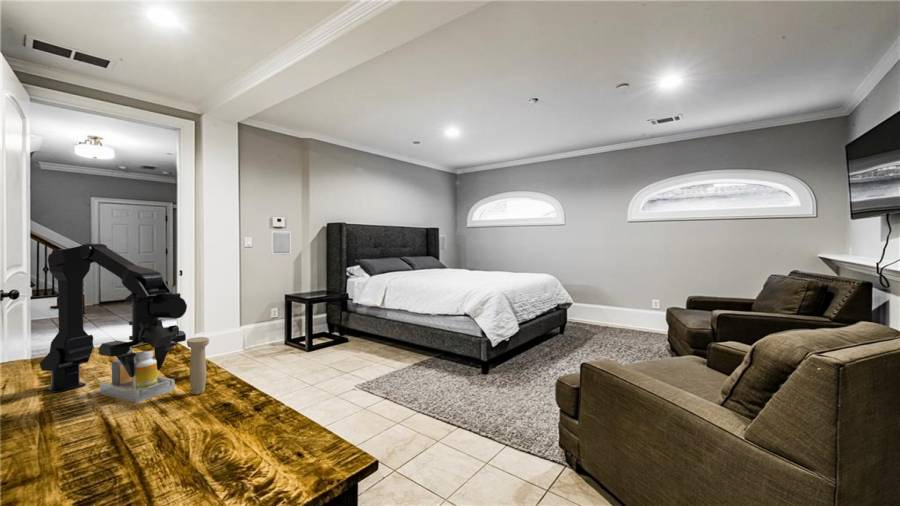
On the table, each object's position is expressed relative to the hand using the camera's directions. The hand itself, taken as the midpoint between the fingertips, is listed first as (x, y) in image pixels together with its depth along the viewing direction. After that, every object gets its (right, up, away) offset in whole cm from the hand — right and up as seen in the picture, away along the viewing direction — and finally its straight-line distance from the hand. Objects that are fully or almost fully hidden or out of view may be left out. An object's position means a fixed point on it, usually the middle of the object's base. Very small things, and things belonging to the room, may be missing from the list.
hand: (145, 373), depth 105 cm
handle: (+14, -6, +1) cm, 15 cm away
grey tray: (-3, -6, +1) cm, 7 cm away
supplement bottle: (0, -4, 0) cm, 4 cm away
